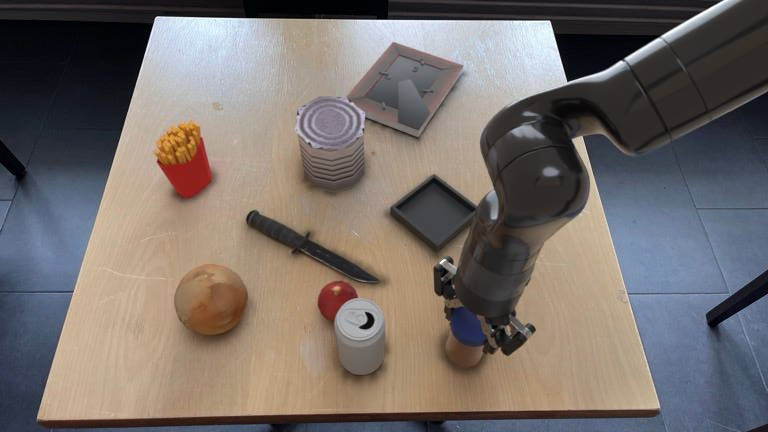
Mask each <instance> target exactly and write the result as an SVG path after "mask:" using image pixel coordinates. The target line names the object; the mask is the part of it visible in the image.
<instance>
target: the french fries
mask: <svg viewBox="0 0 768 432" xmlns="http://www.w3.org/2000/svg"><path fill="white" fill-rule="evenodd" d="M170 128H171V129H170ZM170 128H167V129H165V131H166V133H164V134H163V135H161V136H159V137H158V140H156V141H155V143H156V144H155V145H156V147H157V148H156V149H154V150H153V151H152V152H153V154H154V155H155V157H156V158H157V160H156V164H157V165H158V166H159V168H160V169H161V171H162V173H163V174H164V175H165V177H166V178H167V180H168V181H169V183H170V184H171V186H172V187H173V188H174V190H175V192H176V193H177V194H179V196H181V197H182V198H184V199H186V198H192V197H194V196H196V195H198V193H200V192H201V191H203V189H205V188H206V187H207V186H208V185H209V184H210V183H211V182H212V177H213V175H212V170H211V167H210V162H209V158H208V155H207V150H206V146H205V142H204V138H203V136H201V125H200V124H199V123H198V122H194V121H193V120H192V119H191V120H189V121H188V123H187V121H184V122H183V123H181V122H180V123H178V124H177V126H175V125H174V124H173V125H172V126H170ZM157 149H158V150H157Z"/></svg>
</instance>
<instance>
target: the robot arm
mask: <svg viewBox="0 0 768 432" xmlns="http://www.w3.org/2000/svg"><path fill="white" fill-rule="evenodd" d="M767 92H768V0H721V1H719V2H718V3H716V4H714V5H712V6H710V7H708V8H706V9H705V10H703V11H701V12H699V13H698V14H696V15H694V16H692V17H691V18H689V19H687V20H685V21H684V22H682V23H680V24H678V25H677V26H675V27H673V28H672V29H670V30H668V31H667V32H665V33H663V34H662V35H660V36H658V37H657V38H655V39H653V40H652V41H649V42H647V44H645V45H643V46H642V47H640V48H639V49H636V50H635V51H634V52H631V53H630V54H628V55H627V56H625V57H624V58H623V59H622V60H619V61H617V62H616V63H614V64H613V65H611V66H608V68H605V69H603V70H601V71H599V72H596V73H593V74H589V75H585V76H583V77H579V78H576V79H573V80H570V81H568V82H565V83H562V84H558V85H556V86H552V87H550V88H547V89H544V90H541V91H537V92H534V93H531V94H527V95H526V96H523V97H520V98H518V99H516V100H514V101H512V102H510V103H508V104H507V105H505V106H504V107H502V108H501V109H499V110H498V111H497V112H496V113H495V114H494V115H493V116H492V117H491V118H490V119H489V121H488V122H487V123H486V125H485V126H484V128H483V130H482V133H481V135H480V139H479V150H480V154H481V157H482V159H483V162H484V165H485V167H486V170H487V173H488V175H489V179H490V181H491V184H492V188H493V189H491V190H489V192H487V193H486V194H484V196H483V197H482V198H481V199H480V200H479V202H478V204H477V205H476V206H477V208H476V210H475V213H474V216H473V220H472V223H471V224H470V228H469V230H468V235H467V237H466V239H465V240H464V243H463V245H462V248H461V251H460V256H459V260H458V263H457V267H456V266H455V261H454V259H453V257H452V256H450V255H449V254H448V255H446V256H444V257H443V259H441V260H440V261H438V263H437V264H435V265H434V266H433V273H432V274H433V291H434V293H435V295H436V296H437V297H442V298H443V299H444V300H443V304H444V308H443V313H444V315H445V317H444V318H445V320H446V321H448V322H450V320H451V316H452V312H453V310H454V308H458V307H462V306H463V307H465V308H466V309H467V310H469V311H470V312H471V313H473V314H474V315H475V316H476V317H477V319H478V320H480V324H481V328H482V332H483V334H485V335H487V338H488V340H487V341H486V343H485V345H484V347H483V350H482V352H483V354H484V355H485V356H486V355H488V354H489V355H491V356H493V355H494V354H495V353H496V352H497V351H498V350H499V349H500V352H501V353H502V354H503V355H504V356H505V357H509V356H510V355H512V354H513V353H515V352H516V351H517V350H518V349H520V348H521V347H523V345H525V343H527V341H529V340H530V338H531V337H532V336H533V335H534V334H535V333H536V331H537V328H536V326H535V325H534V324H533V323H530V322H528V323H526V324H525V323H522V321H520V320H519V319H518V318H517V310H516V307H517V306H518V303H519V301H520V299H521V297H522V295H523V294H524V291H525V290H526V287H528V285H529V283H530V282H531V280H532V275H533V273H534V270H535V267H536V263H537V259H538V257H539V256H540V253H541V251H542V249H543V247H544V245H545V243H546V242H547V241H548V240H549V239H551V238H552V237H553V236H554V235H555V234H556V233H558V232H559V231H560V230H561V229H562V228H563V227H565V226H566V225H567V224H569V223H571V222H572V221H573V220H574V219H576V218H577V217H578V216H579V215H580V214H581V213H582V212H583V210H584V209H585V208H586V205H587V203H588V200H589V196H590V191H591V190H590V189H591V180H590V179H591V178H590V174H589V171H588V169H587V166H586V164H585V163H584V160H583V159H582V157H581V156H580V153H579V151H578V149H577V147H576V145H575V143H574V141H573V140H574V139H577V138H581V137H586V136H590V135H591V136H592V135H603V136H605V137H606V138H607V139H608V140H609V141H610V142H611V143H612V144H613V145H614V146H616V148H617V149H618V150H620V152H622V153H624V154H625V155H627V156H630V157H641V156H644V155H647V154H649V153H652V152H654V151H657V150H658V149H661V148H663V147H665V146H666V145H668V144H671V141H672V142H674V141H676V140H678V139H680V138H682V137H684V136H686V135H687V134H690V133H692V132H693V131H695V130H697V129H699V128H701V127H703V126H705V125H707V124H709V123H710V122H712V121H715V120H717V119H719V118H720V117H723V116H724V115H727V114H728V113H730V112H732V111H734V110H735V109H737V108H739V107H741V106H743V105H745V104H747V103H749V102H750V101H752V100H754V99H756V98H758V97H760V96H762V95H764V94H765V93H767ZM508 327H509V328H510V330H508ZM509 332H510V333H509ZM509 334H510V335H509Z"/></svg>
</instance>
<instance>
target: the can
mask: <svg viewBox="0 0 768 432" xmlns="http://www.w3.org/2000/svg"><path fill="white" fill-rule="evenodd" d="M365 122H366V117H365V112H363V111H362V110H361V109H360V108H359V107H357V106H356V105H355V104H354V103H353V102H352V101H350V100H349V99H348V98H347V96H345V97H344V96H327V95H318V96H316V97H315V98H314V99H312V100H311V101H308V102H307V103H306V104H304V105H303V106H301V107H299V108H298V109H297V113H296V118H295V124H294V125H295V126H294V132H295V133H296V134H297V139H298V140H297V141H298V144H299V145H298V146H299V151H300V158H301V164H302V169H303V175H304V178H305V179H306V180H307V181H308V182H309V183H310V184H311V186H313V188H314V189H315V190H320V191H326V192H329V193H334V194H335V193H340V192H342V191H346V190H349V189H353V188H354V187H355V186H357V184H358V183H359V182H360V181H361V180H362V178H363V177H364V176H365V174H366V173H365V126H366V125H365V124H366V123H365Z"/></svg>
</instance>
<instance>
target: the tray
mask: <svg viewBox="0 0 768 432" xmlns="http://www.w3.org/2000/svg"><path fill="white" fill-rule="evenodd" d="M477 206H478V205H476V204H475V203H474V202H472V201H471V200H470V199H468V198H467V197H466V196H464V195H463V194H462V193H460V192H459V191H458V190H456V189H455V188H454V187H453V186H451V185H450V184H449V183H447V182H446V181H445V180H443V178H441V177H440V176H438V175H436V174H435V173H433V174H432V175H430V176H428V177H427V178H426V179H424V181H423V182H420V184H419V185H417V186H416V187H415V188H413V189H412V190H411V191H410V192H408V193H407V194H406V195H404V196H403V197H401V198H400V199H399V200H398V201H396V202H395V203H394V204H393V205H391V206H390V211H389V215H391V216H392V217H393V218H394V219H395V220H397V221H398V222H399V223H400V224H401V225H402V226H404V227H405V228H406V229H407V230H409V232H411V233H412V234H413V235H415V236H416V237H417V238H418V239H419V240H420V241H422V242H423V243H424V244H425V245H426V246H428V248H430V249H431V250H432V251H434V252H435V253H436V254H437V253H439V252H440V251H441V250H442V249H443V248H444V247H445V246H446V245H448V244H449V243H450V242H451V241H453V239H455V238H456V237H457V236H458V235H459V234H460V233H461V232H463V231H464V230H465V229H466V228H467V227H469V225H470V226H471V223H472V220H473V216H474V213H475V210H476V208H477Z"/></svg>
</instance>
